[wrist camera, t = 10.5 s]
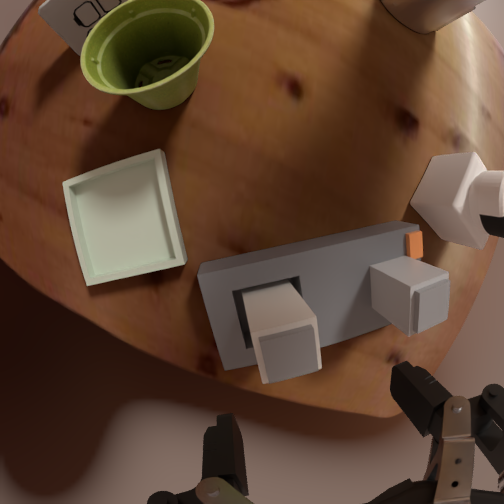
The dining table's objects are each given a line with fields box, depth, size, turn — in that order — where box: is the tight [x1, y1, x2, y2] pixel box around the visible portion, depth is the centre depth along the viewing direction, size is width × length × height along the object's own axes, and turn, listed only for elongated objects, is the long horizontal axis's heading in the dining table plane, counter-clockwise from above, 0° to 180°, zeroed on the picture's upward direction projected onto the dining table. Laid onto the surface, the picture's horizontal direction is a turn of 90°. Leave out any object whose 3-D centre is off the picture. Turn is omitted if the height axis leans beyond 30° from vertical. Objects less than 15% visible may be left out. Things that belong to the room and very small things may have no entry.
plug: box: [241, 279, 322, 384], centre depth 20 cm, size 4×4×10 cm
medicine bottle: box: [410, 152, 504, 250], centre depth 20 cm, size 7×7×12 cm
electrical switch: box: [38, 0, 128, 56], centre depth 14 cm, size 9×5×9 cm, turn 126°
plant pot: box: [80, 0, 214, 110], centre depth 17 cm, size 9×9×9 cm
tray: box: [63, 149, 188, 286], centre depth 22 cm, size 10×10×2 cm
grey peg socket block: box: [197, 221, 450, 371], centre depth 21 cm, size 20×9×11 cm, turn 101°
